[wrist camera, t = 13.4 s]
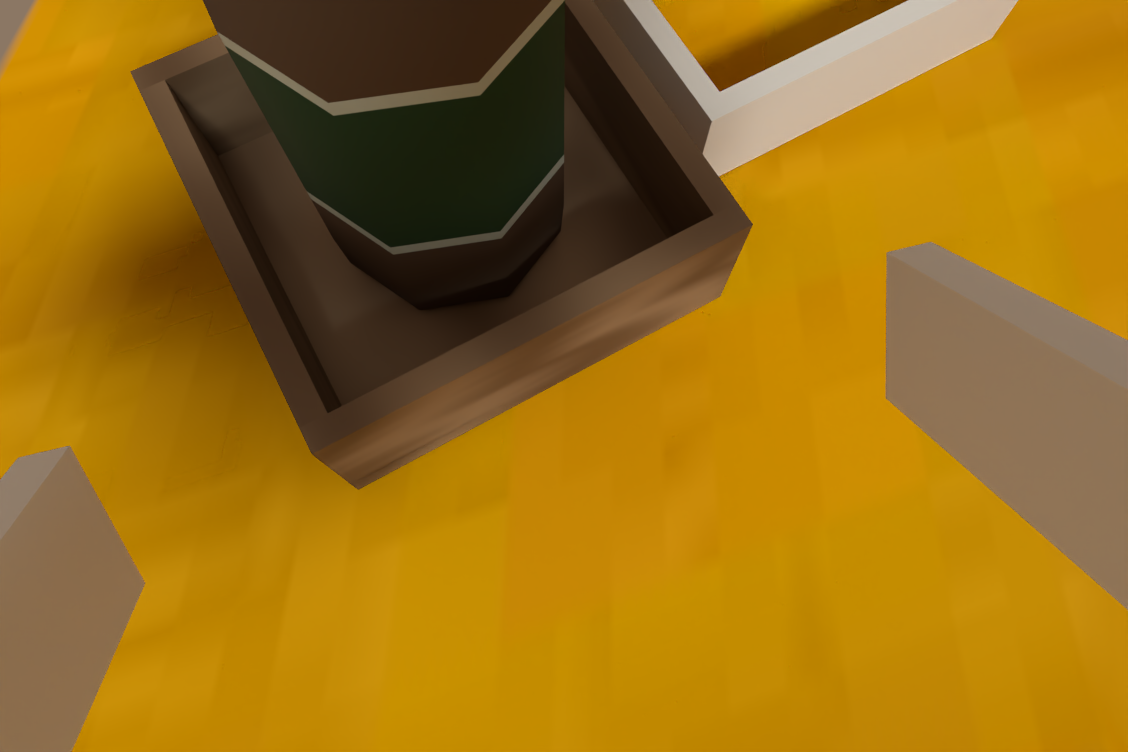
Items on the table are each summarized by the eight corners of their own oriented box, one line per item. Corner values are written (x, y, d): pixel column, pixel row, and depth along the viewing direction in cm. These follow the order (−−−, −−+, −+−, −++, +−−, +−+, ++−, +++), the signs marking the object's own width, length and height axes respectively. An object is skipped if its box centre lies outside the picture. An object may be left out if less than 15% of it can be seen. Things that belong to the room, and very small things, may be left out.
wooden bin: (530, 16, 31) (524, -96, 27) (719, 296, 28) (752, 224, 23) (199, 164, 29) (130, 71, 25) (357, 489, 26) (311, 454, 21)
